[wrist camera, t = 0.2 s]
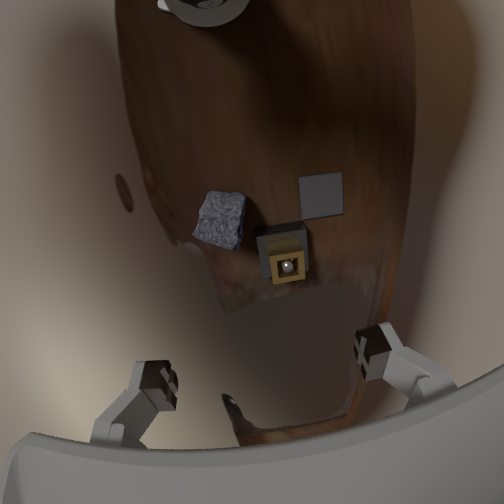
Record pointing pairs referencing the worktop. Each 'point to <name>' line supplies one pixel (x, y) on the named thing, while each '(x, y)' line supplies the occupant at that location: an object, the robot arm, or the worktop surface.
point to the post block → (275, 235)
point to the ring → (283, 252)
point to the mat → (321, 195)
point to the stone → (221, 219)
